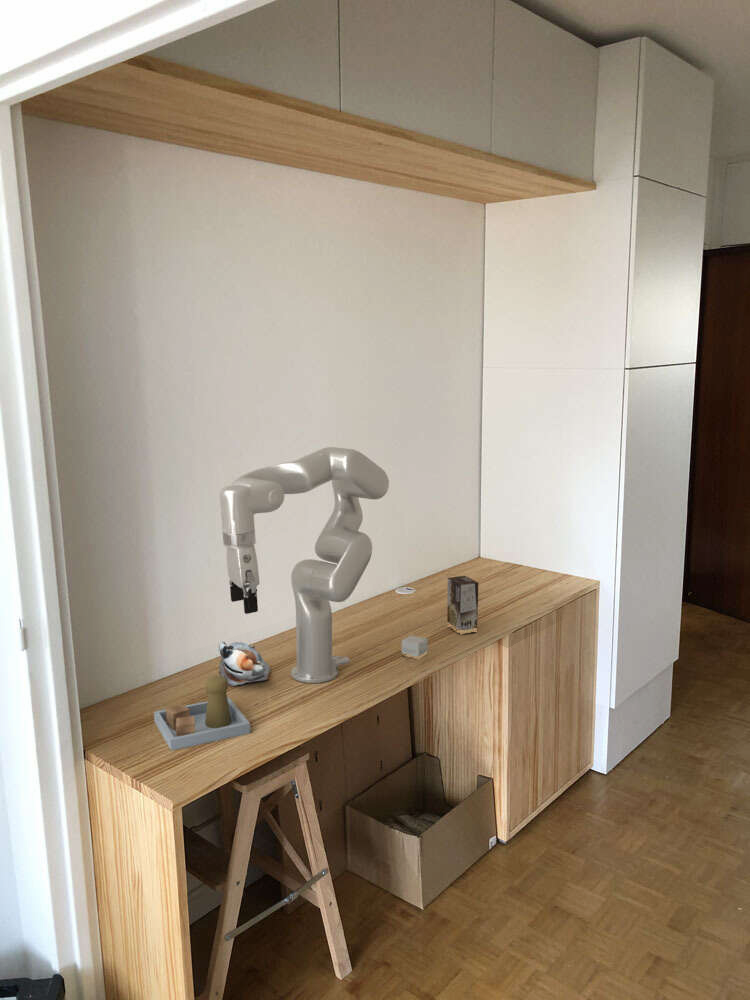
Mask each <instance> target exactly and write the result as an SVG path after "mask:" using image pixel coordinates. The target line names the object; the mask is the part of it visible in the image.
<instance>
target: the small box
mask: <svg viewBox="0 0 750 1000" xmlns="http://www.w3.org/2000/svg"><path fill="white" fill-rule="evenodd" d="M428 639H429V638H425V637H421V636H416V635H410V636H407V637H405V638H403V639H402V640H401V653H403V654H407V655H412V656H415V657H419V656H420V655H422V654H424V653H425V652H426V651H429V650H428V647H429V645H428V643H429V640H428Z"/></svg>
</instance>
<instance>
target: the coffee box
mask: <svg viewBox="0 0 750 1000" xmlns="http://www.w3.org/2000/svg"><path fill="white" fill-rule="evenodd" d="M446 603H447V608H446V611H447V613H446V614H447V615H446V616H447V618H446V619H447V620H446V621H447V622H449V623H450V624H451V625H453V626H454V627H456V628H457V629H459V630H468V629H473V628H477V629H478V617H479V616H478V615H479V614H478V612H479V611H478V609H479V581H476V580H474V579H473V578H470V577H469V576H466V575H460V576H453V577H447V602H446Z"/></svg>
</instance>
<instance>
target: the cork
mask: <svg viewBox="0 0 750 1000" xmlns="http://www.w3.org/2000/svg"><path fill="white" fill-rule="evenodd" d="M204 686H205V690H206V692H207V710H206V720H205V725H206V726H207V727H210V728H220V727H225V726H228V725H230V723H231V716H230V710H229V705H228V699H227V697H228V694H227V691H228V688H229V684H228V681H227V679H226V678H225V677H222V676H221V675H214V676H210V677H209V678H208V679H207V680H206V681H205V685H204Z"/></svg>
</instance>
